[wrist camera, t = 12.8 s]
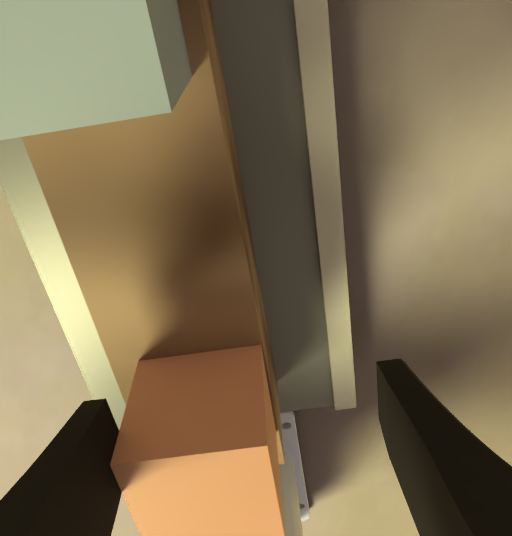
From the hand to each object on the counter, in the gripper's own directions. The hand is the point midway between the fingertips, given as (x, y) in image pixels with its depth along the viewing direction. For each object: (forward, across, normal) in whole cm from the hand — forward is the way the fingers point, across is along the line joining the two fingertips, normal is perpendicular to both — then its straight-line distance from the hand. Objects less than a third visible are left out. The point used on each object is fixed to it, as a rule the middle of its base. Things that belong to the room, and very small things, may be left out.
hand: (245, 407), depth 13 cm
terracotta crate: (+3, +2, +2) cm, 4 cm away
